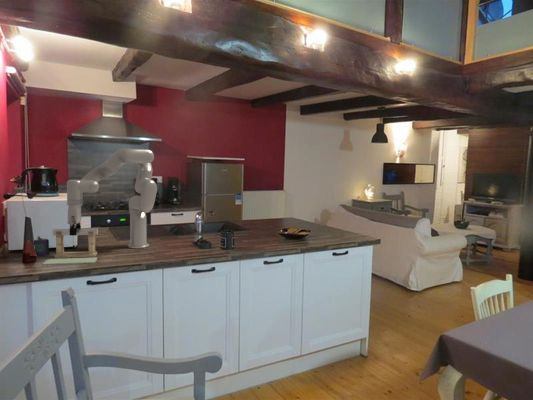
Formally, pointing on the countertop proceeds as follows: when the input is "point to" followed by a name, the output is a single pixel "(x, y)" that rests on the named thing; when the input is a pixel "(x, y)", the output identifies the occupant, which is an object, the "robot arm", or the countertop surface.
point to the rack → (62, 254)
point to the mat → (69, 261)
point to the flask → (41, 247)
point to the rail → (78, 231)
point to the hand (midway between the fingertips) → (75, 233)
